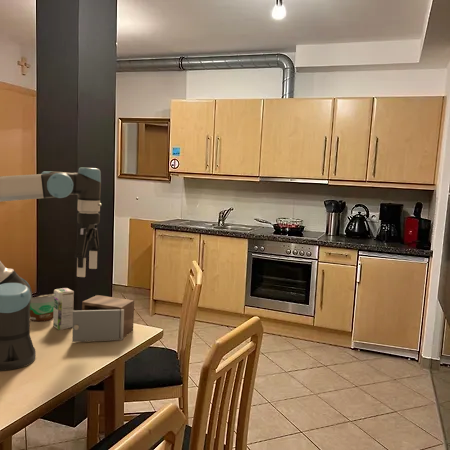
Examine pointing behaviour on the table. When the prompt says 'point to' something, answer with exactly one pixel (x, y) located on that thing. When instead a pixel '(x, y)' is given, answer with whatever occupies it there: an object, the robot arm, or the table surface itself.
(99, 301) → the cabinet
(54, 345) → the table surface
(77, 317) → the door
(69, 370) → the table surface
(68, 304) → the syrup box
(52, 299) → the food container
